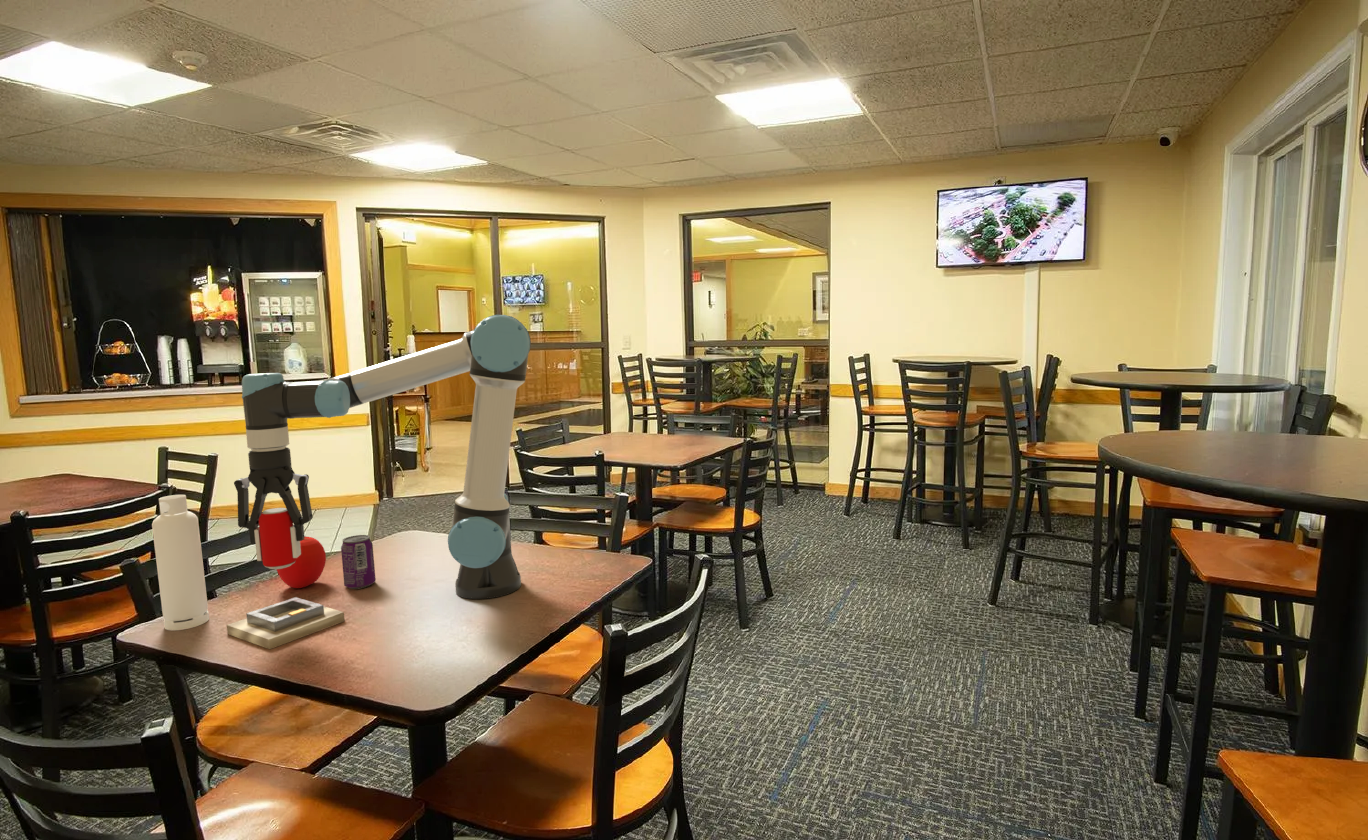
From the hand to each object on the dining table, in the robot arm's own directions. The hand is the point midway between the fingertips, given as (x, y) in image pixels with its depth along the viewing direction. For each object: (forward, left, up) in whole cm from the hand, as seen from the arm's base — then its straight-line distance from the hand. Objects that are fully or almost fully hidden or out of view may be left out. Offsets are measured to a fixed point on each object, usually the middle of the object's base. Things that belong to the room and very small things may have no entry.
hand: (279, 557), depth 152 cm
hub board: (0, 0, -15) cm, 15 cm away
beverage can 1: (0, 0, -2) cm, 2 cm away
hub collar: (0, 0, -13) cm, 13 cm away
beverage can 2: (+10, -24, -16) cm, 30 cm away
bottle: (+23, +9, -16) cm, 29 cm away
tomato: (+23, -17, -16) cm, 32 cm away
